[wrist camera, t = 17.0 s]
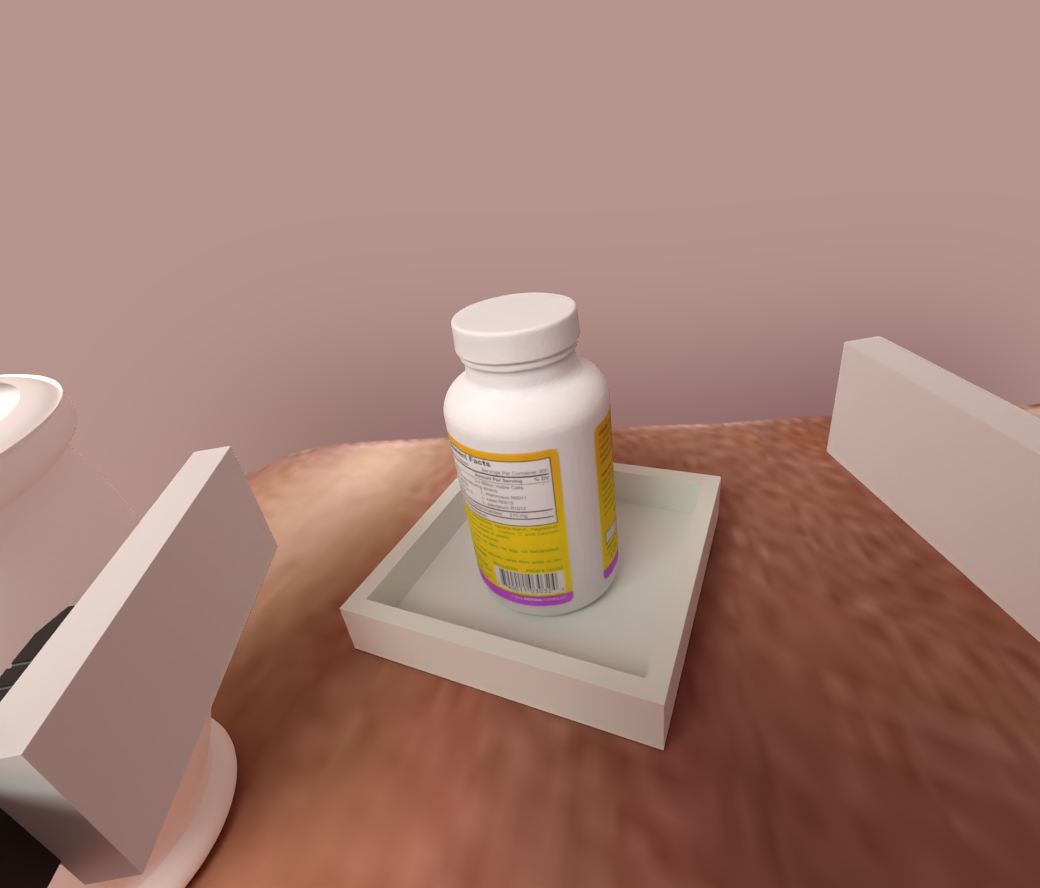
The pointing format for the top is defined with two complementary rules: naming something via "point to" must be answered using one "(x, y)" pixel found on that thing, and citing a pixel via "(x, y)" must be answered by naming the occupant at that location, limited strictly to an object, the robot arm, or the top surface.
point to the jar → (64, 580)
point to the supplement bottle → (533, 454)
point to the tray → (561, 638)
